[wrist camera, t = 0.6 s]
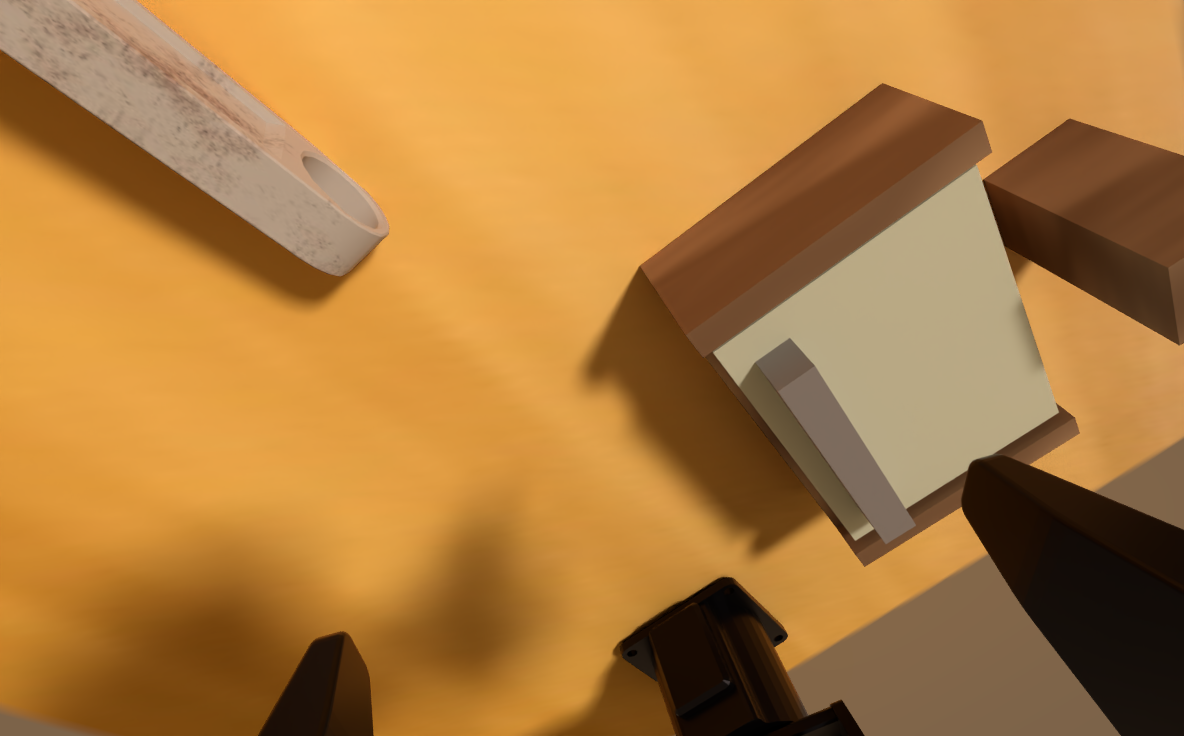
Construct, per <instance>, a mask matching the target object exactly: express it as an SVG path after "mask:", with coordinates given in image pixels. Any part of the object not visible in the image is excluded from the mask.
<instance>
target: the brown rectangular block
mask: <svg viewBox="0 0 1184 736" xmlns="http://www.w3.org/2000/svg"><path fill="white" fill-rule="evenodd" d="M984 183H985V186H986V189H987V192H988V195H989V198H990V201H991V204H992V207H993V210H994V213H995V216H996V219H997V222H998V225H999V228H1000V231H1001V234H1002V237H1003V240H1004V243H1005V246H1006V247H1008V248H1010V249H1011V250H1013V251H1015V252H1017V253H1018V254H1020V255H1022V256H1024V257H1025V258H1027V259H1029V260H1031V261H1032V262H1034V263H1036V264H1038V265H1039V266H1041V267H1043V268H1045V269H1046V270H1048V271H1050V272H1052V273H1053V274H1055V275H1057V276H1059V277H1060V278H1062V279H1064V280H1066V281H1067V282H1069V283H1071V284H1073V285H1074V286H1076V287H1078V288H1080V289H1081V290H1083V291H1085V292H1087V293H1088V294H1090V295H1092V296H1094V297H1096V298H1097V299H1099V300H1101V301H1103V302H1104V303H1106V304H1108V305H1110V306H1111V307H1113V308H1115V309H1117V310H1118V311H1120V312H1122V313H1124V314H1125V315H1127V316H1129V317H1131V318H1132V319H1134V320H1136V321H1138V322H1139V323H1141V324H1143V325H1145V326H1146V327H1148V328H1150V329H1152V330H1153V331H1155V332H1157V333H1159V334H1160V335H1162V336H1164V337H1166V338H1167V339H1169V340H1171V341H1173V342H1174V343H1176V344H1178V345H1181V344H1183V343H1184V156H1183V155H1180V154H1177V153H1174V152H1171V151H1167V150H1164V149H1161V148H1158V147H1155V146H1152V145H1149V144H1146V143H1143V142H1140V141H1137V140H1134V139H1131V138H1127V137H1124V136H1121V135H1118V134H1115V133H1112V132H1109V131H1106V130H1103V129H1100V128H1097V127H1094V126H1091V125H1088V124H1084V123H1081V122H1078V121H1075V120H1072V119H1069V120H1067V121H1066V122H1064V123H1063V124H1062V125H1060V126H1059V127H1057V128H1056V129H1054V130H1053V131H1052V132H1050V133H1049V134H1047V135H1046V136H1045V137H1043V138H1042V139H1040V140H1039V141H1037V142H1036V143H1035V144H1033V145H1032V146H1030V147H1029V148H1028V149H1026V150H1025V151H1023V152H1022V153H1020V154H1019V155H1018V156H1016V157H1015V158H1013V159H1012V160H1011V161H1009V162H1008V163H1006V164H1005V165H1003V166H1002V167H1001V168H999V169H998V170H996V171H995V172H994V173H992V174H991V175H989V176H988V177H987V178H985V179H984Z"/></svg>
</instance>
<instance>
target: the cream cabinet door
mask: <svg viewBox="0 0 1184 736" xmlns="http://www.w3.org/2000/svg"><path fill="white" fill-rule="evenodd" d="M712 352H713V353H714V355H715V356H716V357H717V359H718V360H719V361H720V362H721V364H722V365H723V366H724V368H725V369H726V370H727V372H728V373H729V374H730V376H731V377H732V378H733V380H734V381H735V382H736V384H737V385H738V386H739V388H740V389H741V390H742V392H743V393H744V394H745V396H746V397H747V398H748V400H749V401H750V402H751V404H752V405H753V406H754V407H755V409H756V410H757V411H758V413H759V414H760V415H761V417H762V418H763V419H764V421H765V422H766V423H767V425H768V426H769V427H770V429H771V430H772V431H773V433H774V434H775V435H776V437H777V438H778V439H779V441H780V442H781V443H782V445H783V446H784V447H785V448H786V450H787V451H788V452H789V454H790V455H791V456H792V458H793V459H794V460H795V462H796V463H797V464H798V466H799V467H800V468H801V470H802V471H803V472H804V474H805V475H806V476H807V478H808V479H809V480H810V482H811V483H812V484H813V486H814V487H815V488H816V490H817V491H818V492H819V493H820V495H821V496H822V497H823V499H824V500H825V501H826V503H827V504H828V505H829V507H830V508H831V509H832V511H833V512H834V513H835V515H836V516H837V517H838V519H839V520H840V521H841V523H842V524H843V525H844V527H845V528H846V529H847V531H848V532H849V533H850V535H851V536H852V537H853V538H854V540H855V541H856V540H857V539H859V538H861V537H862V536H864V535H865V534H867V533H869V532H870V531H872V530H873V529H875V531H876V532H877V533H878V535H879V536H880V537H881V539H882V540H883V541H884V542H885V544H887V543H889V542H890V541H892V540H894V539H895V538H897V537H898V536H900V535H902V534H903V533H905V532H906V531H908V530H910V529H911V528H913V527H914V526H916V524H915V523H914V521H913V520H912V518H911V516H910V515H909V513H908V512H907V510H906V509H907V508H908V507H910V506H911V505H913V504H915V503H916V502H918V501H919V500H921V499H923V498H924V497H926V496H927V495H929V494H930V493H932V492H934V491H935V490H937V489H938V488H940V487H942V486H943V485H945V484H946V483H948V482H949V481H951V480H953V479H954V478H956V477H957V476H959V475H961V474H962V473H964V472H965V471H967V470H968V467H969V464H970V463H971V462H972V461H973V460H975V459H978V458H981V457H985V456H989V455H992V454H994V453H996V452H997V451H999V450H1000V449H1002V448H1003V447H1005V446H1007V445H1008V444H1010V443H1011V442H1013V441H1015V440H1016V439H1018V438H1019V437H1021V436H1023V435H1024V434H1026V433H1027V432H1029V431H1030V430H1032V429H1034V428H1035V427H1037V426H1038V425H1040V424H1042V423H1043V422H1045V421H1046V420H1048V419H1050V418H1051V417H1053V416H1054V415H1056V414H1057V413H1059V411H1058V408H1057V405H1056V402H1055V399H1054V396H1053V393H1052V390H1051V387H1050V384H1049V381H1048V378H1047V375H1046V372H1045V369H1044V366H1043V363H1042V360H1041V357H1040V354H1039V351H1038V348H1037V345H1036V342H1035V339H1034V336H1033V333H1032V330H1031V327H1030V324H1029V321H1028V318H1027V315H1026V312H1025V309H1024V306H1023V303H1022V300H1021V297H1020V294H1019V291H1018V288H1017V285H1016V282H1015V279H1014V275H1013V272H1012V269H1011V266H1010V263H1009V260H1008V257H1007V254H1006V251H1005V248H1004V245H1003V242H1002V239H1001V236H1000V233H999V230H998V227H997V224H996V221H995V218H994V215H993V212H992V209H991V206H990V203H989V200H988V197H987V194H986V191H985V188H984V185H983V182H982V179H981V176H980V173H979V170H978V167H977V165H976V164H975V165H974V166H972V167H971V168H969V169H968V170H966V171H965V172H964V173H962V174H961V175H959V176H958V177H957V178H955V179H954V180H952V181H951V182H950V183H948V184H947V185H945V186H944V187H943V188H941V189H940V190H938V191H937V192H936V193H934V194H933V195H931V196H930V197H929V198H927V199H926V200H924V201H923V202H922V203H920V204H919V205H917V206H916V207H915V208H913V209H912V210H910V211H909V212H908V213H906V214H905V215H903V216H902V217H901V218H899V219H898V220H896V221H895V222H893V223H892V224H891V225H889V226H888V227H886V228H885V229H884V230H882V231H881V232H879V233H878V234H877V235H875V236H874V237H872V238H871V239H870V240H868V241H867V242H865V243H864V244H863V245H861V246H860V247H858V248H857V249H856V250H854V251H853V252H851V253H850V254H849V255H847V256H846V257H844V258H843V259H842V260H840V261H839V262H837V263H836V264H835V265H833V266H832V267H830V268H829V269H828V270H826V271H825V272H823V273H822V274H820V275H819V276H818V277H816V278H815V279H813V280H812V281H811V282H809V283H808V284H806V285H805V286H804V287H802V288H801V289H799V290H798V291H797V292H795V293H794V294H792V295H791V296H790V297H788V298H787V299H785V300H784V301H783V302H781V303H780V304H778V305H777V306H776V307H774V308H773V309H771V310H770V311H769V312H767V313H766V314H764V315H763V316H762V317H760V318H759V319H757V320H756V321H755V322H753V323H752V324H750V325H749V326H747V327H746V328H745V329H743V330H742V331H740V332H739V333H738V334H736V335H735V336H733V337H732V338H731V339H729V340H728V341H726V342H725V343H724V344H722V345H721V346H719V347H718V348H717V349H715V350H714V351H712Z"/></svg>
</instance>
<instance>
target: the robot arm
mask: <svg viewBox="0 0 1184 736" xmlns="http://www.w3.org/2000/svg"><path fill="white" fill-rule="evenodd" d="M961 506H962V510H963V512H964V515H965V516H966V518H967V520H968V521H969V523H970V525H971V526H972V528H973V529H974V531H975V533H976V534H977V536H978V537H979V539H980V541H981V542H982V544H983V545H984V547H985V549H986V550H987V552H988V554H989V555H990V556H991V558H992V560H993V562H994V563H995V565H996V566H997V568H998V570H999V571H1000V572H1001V574H1002V576H1003V578H1004V579H1005V581H1006V582H1007V583H1008V586H1009V587H1010V589H1011V590H1012V592H1013V593H1014V595H1015V596H1016V598H1017V599H1018V601H1019V602H1020V604H1021V605H1022V607H1023V608H1024V610H1025V611H1026V612H1027V614H1028V615H1029V616H1030V618H1031V619H1032V621H1033V622H1034V623H1035V625H1036V626H1037V627H1038V628H1039V630H1040V631H1041V632H1042V634H1043V635H1044V636H1045V637H1046V639H1047V640H1048V641H1049V643H1050V644H1051V645H1052V647H1053V648H1054V649H1055V651H1057V653H1058V654H1059V656H1060V657H1061V658H1062V660H1063V661H1064V662H1065V663H1066V665H1067V666H1068V667H1069V669H1070V670H1071V671H1072V673H1073V674H1074V675H1075V677H1076V678H1077V679H1078V680H1079V682H1080V683H1081V684H1082V685H1083V687H1084V688H1085V689H1086V691H1087V692H1088V693H1089V695H1090V696H1091V697H1092V699H1093V700H1094V701H1095V702H1096V704H1097V705H1098V706H1099V708H1100V709H1101V710H1102V712H1103V713H1104V714H1105V716H1106V717H1107V718H1108V719H1109V721H1110V722H1111V723H1112V724H1113V726H1114V727H1115V729H1116V730H1117V731H1118V732H1119V734H1120V735H1121V736H1184V530H1183V529H1181V528H1178V527H1176V526H1174V525H1171V524H1169V523H1166V522H1164V521H1162V520H1159V519H1157V518H1154V517H1152V516H1150V515H1147V514H1145V513H1143V512H1140V511H1138V510H1135V509H1133V508H1131V507H1128V506H1126V505H1123V504H1121V503H1118V502H1116V501H1114V500H1111V499H1109V498H1106V497H1104V496H1102V495H1099V494H1097V493H1095V492H1092V491H1090V490H1088V489H1085V488H1083V487H1080V486H1078V485H1076V484H1073V483H1071V482H1068V481H1066V480H1064V479H1061V478H1059V477H1056V476H1054V475H1052V474H1049V473H1047V472H1044V471H1042V470H1040V469H1037V468H1035V467H1032V466H1030V465H1028V464H1025V463H1023V462H1021V461H1018V460H1016V459H1013V458H1011V457H1009V456H1006V455H1003V454H992V455H989V456H985V457H981V458H978V459H975V460H973V461H972V462H971V463H970V464H969V467H968V470H967V475H966V479H965V483H964V488H963V492H962V496H961ZM787 637H788V634H787V632H786V630H785V629H784V627H783V626H782V625H781V624H780V623H779V622H778V621H777V620H776V619H775V618H774V617H773V616H772V615H771V614H770V613H769V612H768V611H767V610H766V609H765V608H764V607H763V606H762V605H761V604H760V603H759V602H758V601H757V600H756V599H755V598H754V597H752V596H751V595H750V594H749V593H748V592H747V591H746V590H745V589H744V588H743V587H742V586H741V585H740V584H739V583H738V582H737V581H736V580H735V579H733V578H730V577H728V578H724V579H722V580H720V581H718V582H717V583H715V584H714V585H712V586H711V587H709V588H707V589H706V590H704V591H703V592H701V593H700V594H698V595H697V596H695V597H693V598H692V599H690V600H689V601H687V602H686V603H684V604H683V605H681V606H679V607H678V608H676V609H675V610H673V611H672V612H670V613H669V614H667V615H666V616H664V617H662V618H661V619H659V620H658V621H656V622H655V623H653V624H652V625H650V626H648V627H647V628H645V629H644V630H642V631H641V632H639V633H638V634H636V635H634V636H633V637H631V638H630V639H628V640H627V641H625V642H624V643H623V644H621V646H620V651H621V654H622V657H623V658H624V659H625V660H626V661H628V662H629V663H631V664H632V665H634V666H635V667H636V668H638V669H639V670H641V671H642V672H644V673H645V674H647V675H648V676H649V677H651V678H652V679H654V680H655V681H657V682H658V683H659V686H660V689H661V692H662V695H663V698H664V701H665V704H666V707H667V710H668V713H669V716H670V719H671V722H672V725H673V728H674V731H675V734H676V736H864V734H863V732H862V731H861V729H860V728H859V726H858V725H857V723H856V721H855V720H854V718H853V717H852V715H851V714H850V712H849V710H848V709H847V707H846V706H845V704H844V703H843V701H842V700H839V701H836V702H834V703H831V704H830V707H828V708H826V709H823V710H821V711H818V712H816V713H814V714H811V715H809V716H808V714H807V712H806V710H805V708H804V706H803V704H802V702H801V700H800V698H799V696H798V694H797V692H796V690H795V688H794V686H793V684H792V682H791V680H790V678H789V676H788V674H787V672H786V670H785V668H784V666H783V664H782V662H781V660H780V658H779V656H778V654H777V652H776V650H775V648H774V647H776V646H777V645H779V644H780V643H782V642H784V641H785V640H786V639H787ZM258 736H373V720H372V705H371V689H370V679H369V673H368V670H367V667H366V664H365V662H364V661H363V659H362V657H361V655H360V653H359V651H358V650H357V648H356V646H355V644H354V642H353V640H352V639H351V637H350V635H349V634H348V633H346V632H344V631H342V632H341V631H340V632H337V633H333V634H329V635H326V636H322V637H319V638H317V639H315V640H314V641H313V642H312V643H311V644H310V646H309V648H308V649H307V651H306V653H305V654H304V656H303V658H302V660H301V661H300V663H299V665H298V667H297V668H296V670H295V672H294V674H293V675H292V677H291V679H290V680H289V682H288V684H287V686H286V687H285V689H284V691H283V693H282V694H281V696H280V698H279V700H278V701H277V703H276V705H275V706H274V708H273V710H272V712H271V713H270V715H269V717H268V719H267V720H266V722H265V724H264V726H263V727H262V729H261V731H260V733H259V734H258Z"/></svg>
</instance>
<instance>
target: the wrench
mask: <svg viewBox="0 0 1184 736" xmlns="http://www.w3.org/2000/svg"><path fill="white" fill-rule="evenodd" d="M0 50H1V51H2V52H4V53H5V54H7V55H8V56H10V57H11V58H13V59H14V60H15V61H17V62H18V63H20V64H21V65H23V66H24V67H25V68H27V69H28V70H30V71H31V72H33V73H34V74H35V75H37V76H38V77H40V78H41V79H43V80H44V81H46V82H47V83H48V84H50V85H51V86H53V87H54V88H56V89H57V90H58V91H60V92H61V93H63V94H64V95H66V96H67V97H68V98H70V99H71V100H73V101H74V102H76V103H77V104H79V105H80V106H81V107H83V108H84V109H86V110H87V111H89V112H90V113H91V114H93V115H94V116H96V117H97V118H99V119H100V120H102V121H103V122H104V123H106V124H107V125H109V126H110V127H112V128H113V129H114V130H116V131H117V132H119V133H120V134H122V135H123V136H124V137H126V138H127V139H129V140H130V141H132V142H133V143H135V144H136V145H137V146H139V147H140V148H142V149H143V150H145V151H146V152H147V153H149V154H150V155H152V156H153V157H155V158H156V159H157V160H159V161H160V162H162V163H163V164H165V165H166V166H168V167H169V168H170V169H172V170H173V171H175V172H176V173H178V174H179V175H180V176H182V177H183V178H185V179H186V180H188V181H189V182H190V183H192V184H193V185H195V186H196V187H198V188H199V189H201V190H202V191H203V192H205V193H206V194H208V195H209V196H211V197H212V198H213V199H215V200H216V201H218V202H219V203H221V204H222V205H224V206H225V207H226V208H228V209H229V210H231V211H232V212H234V213H235V214H236V215H238V216H239V217H241V218H242V219H244V220H245V221H246V222H248V223H249V224H251V225H252V226H254V227H255V228H256V229H258V230H259V231H261V232H262V233H264V234H265V235H267V236H268V237H269V238H271V239H272V240H274V241H275V242H277V243H278V244H280V245H281V246H282V247H284V248H285V249H287V250H288V251H289V252H291V253H292V254H294V255H295V256H296V257H298V258H299V259H301V260H303V261H304V262H306V263H307V264H309V265H311V266H312V267H314V268H316V269H318V270H321V271H323V272H325V273H327V274H330V275H335V276H343V275H345V274H347V273H349V272H350V271H351V270H352V269H353V268H354V267H355V266H356V265H357V264H358V263H359V262H360V261H361V260H362V259H363V258H364V257H365V256H367V255H368V254H369V253H370V252H371V251H372V250H373V249H374V248H375V247H376V246H377V245H378V244H379V243H380V242H381V241H382V240H383V239H384V238H385V237H386V236H387V235H388V234H389V224H388V222H387V219H386V217H385V215H384V213H383V211H382V210H381V208H380V207H379V205H378V204H377V203H376V202H375V200H374V199H373V198H372V197H371V196H370V195H369V193H367V192H366V191H365V190H364V189H363V188H362V187H361V186H360V185H358V184H357V183H356V182H355V181H354V180H353V179H352V178H350V177H349V176H348V175H347V174H346V173H345V172H343V171H342V170H341V169H340V168H339V167H338V166H337V165H336V164H334V163H333V162H332V161H331V160H330V159H329V158H328V157H326V156H325V155H324V154H323V153H322V152H321V151H320V150H318V149H317V148H316V147H315V146H314V145H313V144H312V143H310V142H309V141H308V140H307V139H305V138H304V137H303V136H302V135H300V134H299V133H298V132H297V131H296V130H295V129H293V128H292V127H291V126H290V125H289V124H287V123H286V122H285V121H284V120H283V119H281V118H280V117H279V116H278V115H276V114H275V113H274V112H273V111H271V110H270V109H269V108H268V107H267V106H265V105H264V104H263V103H262V102H260V101H259V100H258V99H257V98H256V97H254V96H253V95H252V94H251V93H249V92H248V91H247V90H246V89H245V88H243V87H242V86H241V85H240V84H238V83H237V82H236V81H235V80H233V79H232V78H231V77H230V76H229V75H227V74H226V73H225V72H224V71H222V70H221V69H220V68H219V67H218V66H216V65H215V64H214V63H213V62H211V61H210V60H209V59H208V58H207V57H205V56H204V55H203V54H202V53H200V52H199V51H198V50H197V49H195V48H194V47H193V46H192V45H191V44H189V43H188V42H187V41H186V40H184V39H183V38H182V37H181V36H180V35H178V34H177V33H176V32H175V31H173V30H172V29H171V28H170V27H169V26H167V25H166V24H165V23H164V22H162V21H161V20H160V19H159V18H157V17H156V16H155V15H154V14H153V13H151V12H150V11H149V10H148V9H147V8H145V7H144V6H143V5H142V4H140V3H139V2H138V1H137V0H0Z"/></svg>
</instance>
